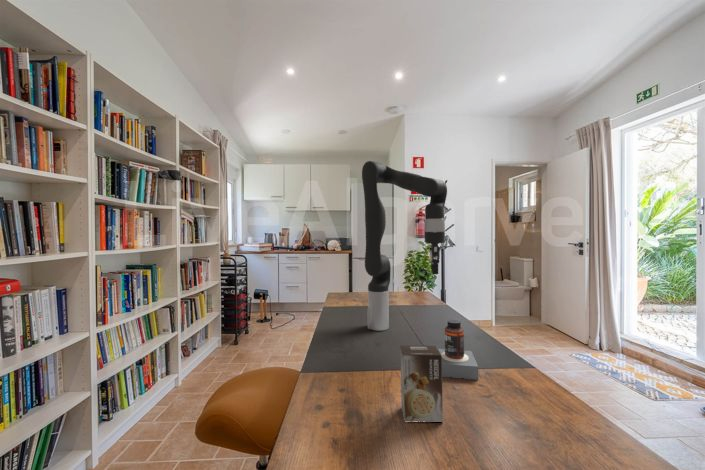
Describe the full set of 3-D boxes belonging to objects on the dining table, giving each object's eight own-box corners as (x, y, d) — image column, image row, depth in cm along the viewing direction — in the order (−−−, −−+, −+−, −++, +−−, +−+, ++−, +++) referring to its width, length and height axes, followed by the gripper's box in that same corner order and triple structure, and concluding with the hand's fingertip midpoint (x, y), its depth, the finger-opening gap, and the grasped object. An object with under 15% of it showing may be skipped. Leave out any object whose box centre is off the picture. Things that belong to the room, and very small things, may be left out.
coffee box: (437, 408, 78) (437, 344, 78) (443, 424, 72) (443, 355, 71) (400, 407, 78) (400, 344, 78) (403, 423, 72) (403, 354, 72)
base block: (436, 376, 94) (436, 362, 94) (434, 359, 106) (434, 347, 106) (478, 379, 92) (478, 365, 92) (471, 362, 104) (471, 350, 104)
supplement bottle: (464, 353, 101) (464, 319, 101) (464, 360, 96) (464, 324, 95) (445, 351, 103) (444, 317, 103) (444, 358, 97) (444, 322, 97)
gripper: (424, 230, 128) (424, 269, 128) (425, 230, 114) (425, 274, 114) (442, 230, 126) (443, 270, 126) (446, 230, 112) (446, 275, 112)
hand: (434, 272), depth 120 cm, fingers open, 8 cm apart
